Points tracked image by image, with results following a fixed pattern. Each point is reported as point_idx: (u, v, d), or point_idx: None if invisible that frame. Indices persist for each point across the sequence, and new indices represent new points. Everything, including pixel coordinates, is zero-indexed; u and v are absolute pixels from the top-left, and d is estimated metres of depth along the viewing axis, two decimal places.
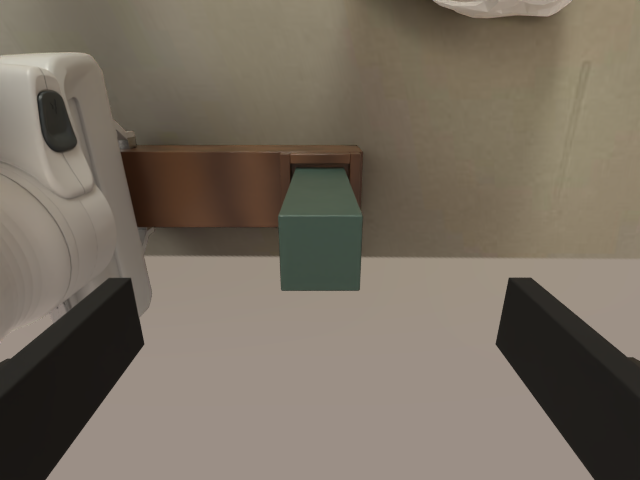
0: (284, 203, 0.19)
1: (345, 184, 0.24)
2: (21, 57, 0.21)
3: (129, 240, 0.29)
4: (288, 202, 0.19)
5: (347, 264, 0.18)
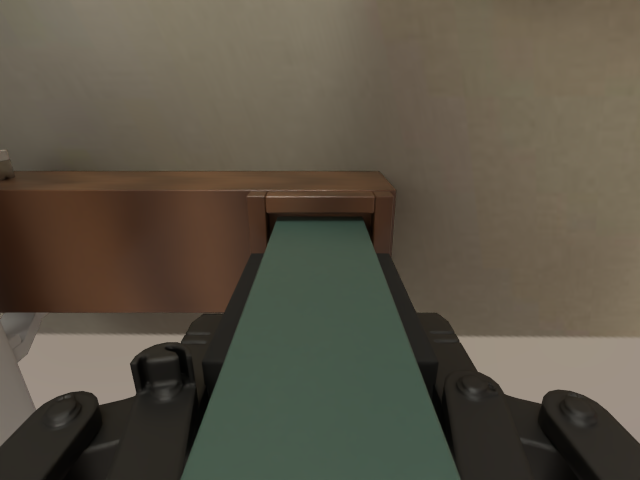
0: (208, 417, 0.06)
1: (376, 284, 0.11)
2: None
3: None
4: (222, 408, 0.06)
5: None
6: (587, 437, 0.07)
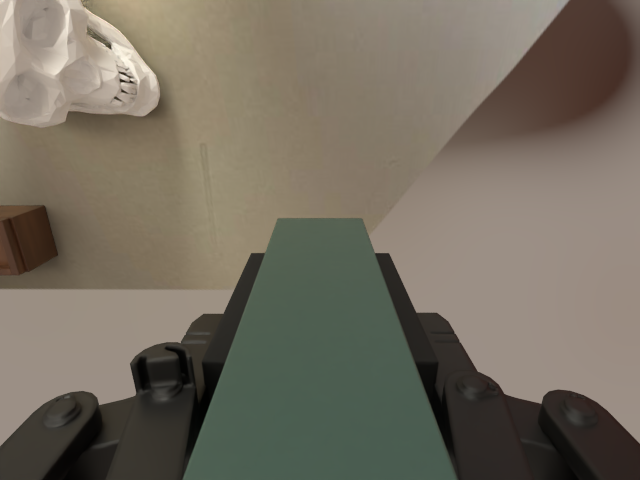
0: (208, 421, 0.06)
1: (376, 287, 0.11)
2: None
3: None
4: (222, 413, 0.06)
5: None
6: (587, 437, 0.07)
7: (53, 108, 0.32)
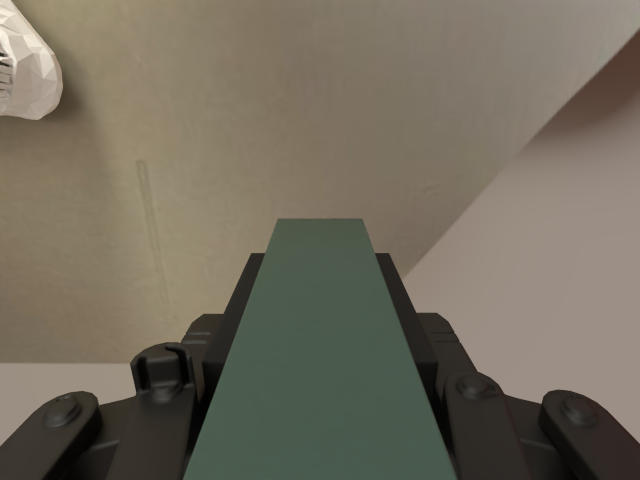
0: (208, 422, 0.06)
1: (376, 288, 0.11)
2: None
3: None
4: (222, 414, 0.06)
5: None
6: (587, 437, 0.07)
7: None
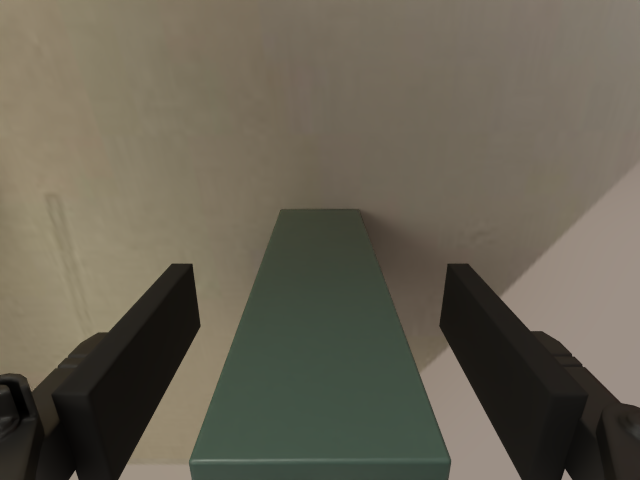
0: (228, 363, 0.08)
1: (369, 265, 0.12)
2: None
3: None
4: (240, 357, 0.08)
5: None
6: None
7: None
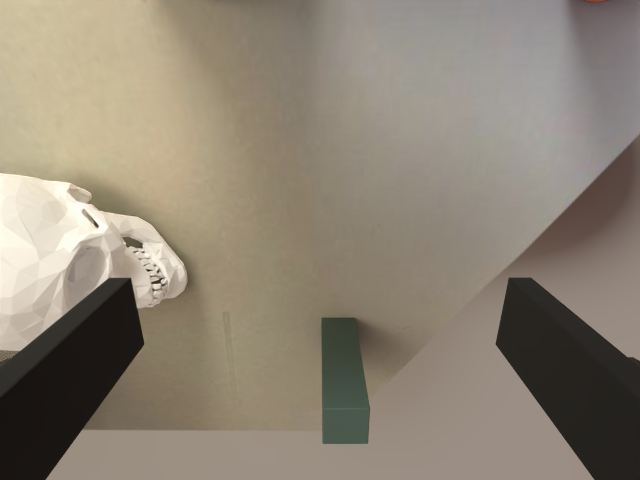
0: (323, 389, 0.33)
1: (357, 354, 0.37)
2: None
3: None
4: (325, 388, 0.33)
5: (360, 431, 0.32)
6: None
7: None
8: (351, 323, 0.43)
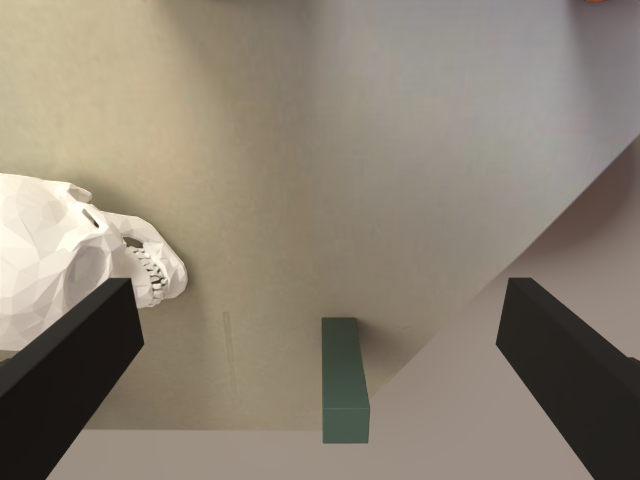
0: (323, 389, 0.33)
1: (357, 354, 0.38)
2: None
3: None
4: (325, 387, 0.33)
5: (361, 430, 0.32)
6: None
7: None
8: (351, 323, 0.43)
